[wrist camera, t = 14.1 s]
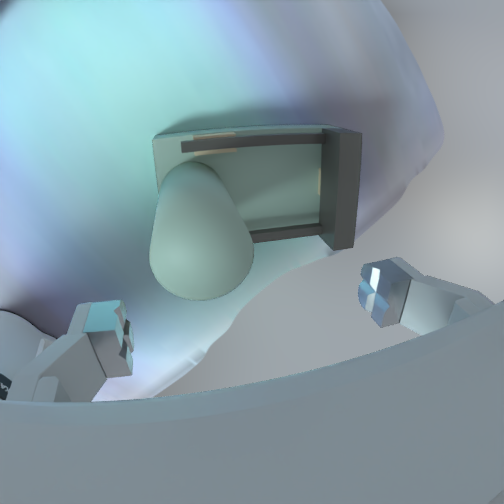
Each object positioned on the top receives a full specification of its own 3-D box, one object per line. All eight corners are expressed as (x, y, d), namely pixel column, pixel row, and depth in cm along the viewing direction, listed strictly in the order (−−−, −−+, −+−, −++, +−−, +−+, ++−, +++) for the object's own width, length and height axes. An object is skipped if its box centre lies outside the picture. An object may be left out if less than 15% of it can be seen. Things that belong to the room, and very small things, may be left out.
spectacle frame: (336, 232, 36) (353, 247, 33) (192, 251, 33) (195, 270, 30) (342, 128, 30) (362, 133, 27) (180, 136, 27) (180, 141, 24)
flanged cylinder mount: (323, 216, 41) (404, 291, 25) (167, 234, 37) (165, 336, 22) (326, 124, 35) (428, 153, 20) (155, 135, 32) (131, 169, 16)
